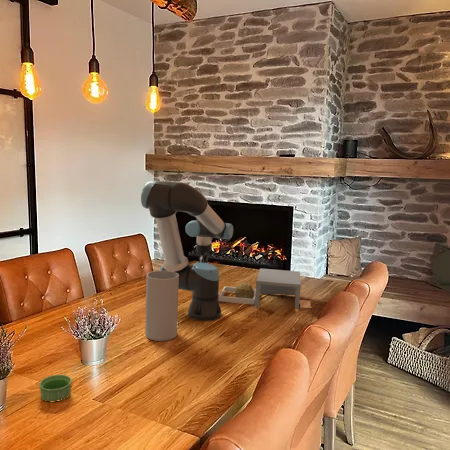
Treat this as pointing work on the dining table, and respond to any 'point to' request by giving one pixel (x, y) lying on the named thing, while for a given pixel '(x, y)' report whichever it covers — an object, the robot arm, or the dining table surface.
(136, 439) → the dining table surface
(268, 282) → the tunnel
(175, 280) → the cylinder vase
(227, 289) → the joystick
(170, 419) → the dining table surface
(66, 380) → the ramekin
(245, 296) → the rock
